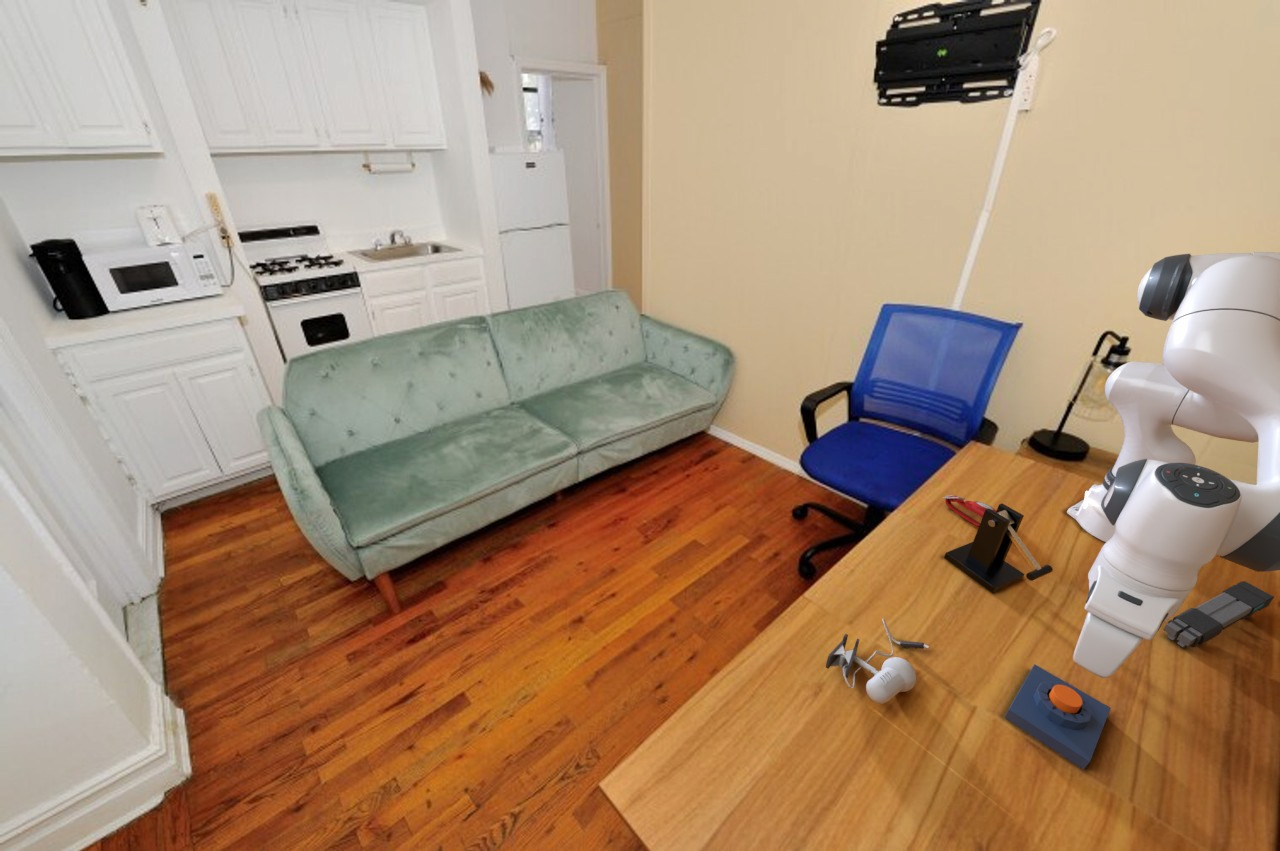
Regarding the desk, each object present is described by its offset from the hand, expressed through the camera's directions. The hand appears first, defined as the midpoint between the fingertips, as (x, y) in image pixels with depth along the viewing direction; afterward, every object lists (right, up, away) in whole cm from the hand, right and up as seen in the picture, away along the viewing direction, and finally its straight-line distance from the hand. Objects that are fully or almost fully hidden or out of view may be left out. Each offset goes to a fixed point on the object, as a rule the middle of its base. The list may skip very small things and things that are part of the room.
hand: (1092, 653), depth 71 cm
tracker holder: (+17, +11, +51) cm, 55 cm away
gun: (+40, -5, +21) cm, 45 cm away
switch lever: (+9, +9, +28) cm, 31 cm away
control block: (0, -13, +7) cm, 15 cm away
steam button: (0, -10, +5) cm, 11 cm away
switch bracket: (+8, +2, +35) cm, 36 cm away
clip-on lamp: (-23, -9, +15) cm, 29 cm away
